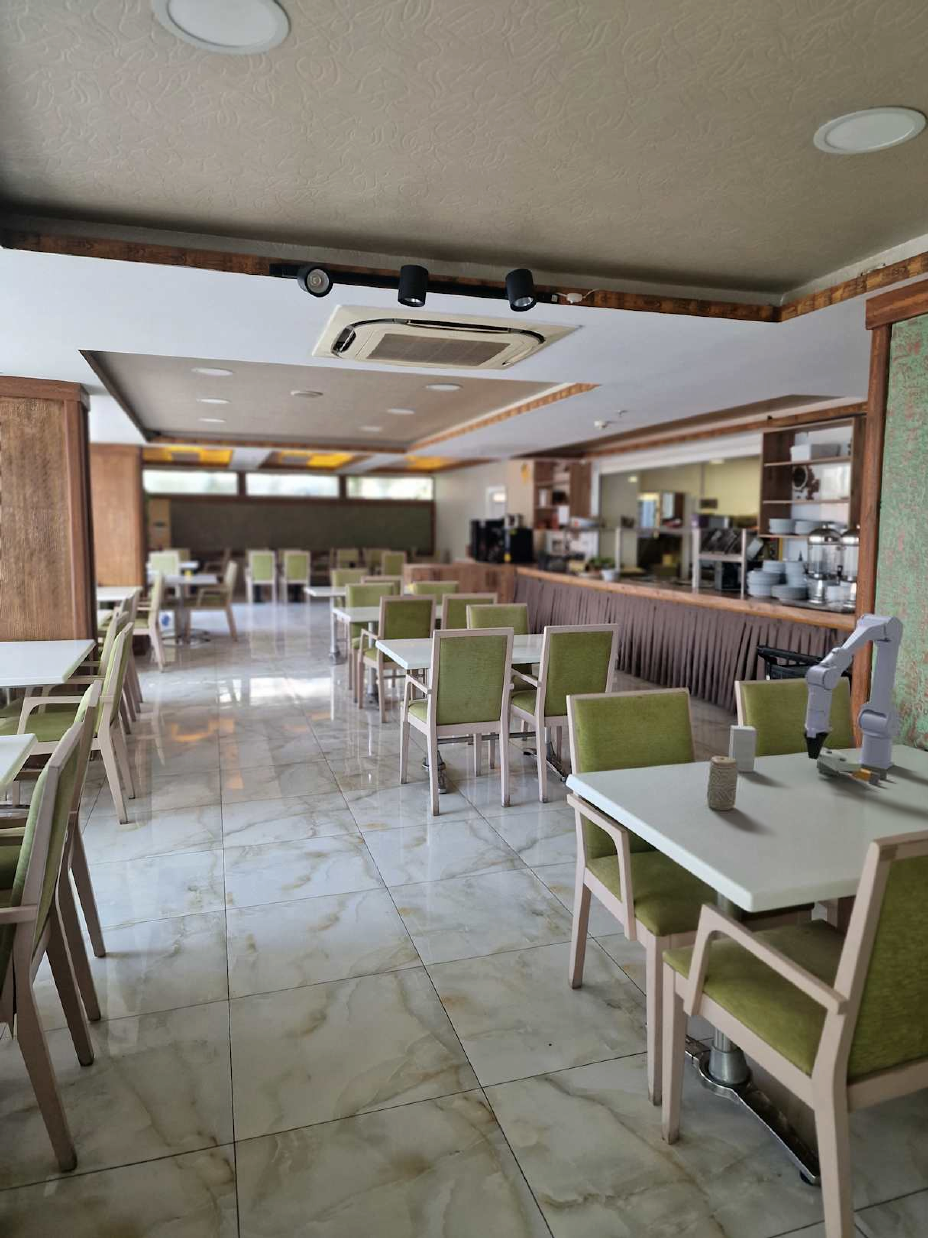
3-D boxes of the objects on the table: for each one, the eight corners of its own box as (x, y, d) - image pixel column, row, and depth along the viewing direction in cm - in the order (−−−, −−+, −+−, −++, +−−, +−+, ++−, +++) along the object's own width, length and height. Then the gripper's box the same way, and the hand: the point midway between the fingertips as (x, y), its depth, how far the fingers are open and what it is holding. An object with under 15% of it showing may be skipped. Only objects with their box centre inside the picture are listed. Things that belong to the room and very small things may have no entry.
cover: (829, 766, 219) (831, 746, 218) (859, 784, 204) (861, 762, 203) (805, 766, 219) (807, 745, 218) (834, 783, 204) (836, 762, 203)
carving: (701, 807, 182) (704, 758, 181) (714, 800, 188) (717, 752, 186) (727, 815, 178) (731, 764, 176) (739, 807, 183) (743, 758, 182)
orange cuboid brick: (857, 775, 212) (857, 767, 212) (875, 781, 208) (876, 773, 207) (851, 777, 211) (852, 768, 211) (869, 782, 207) (870, 774, 206)
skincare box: (749, 767, 215) (752, 726, 214) (753, 772, 211) (757, 730, 209) (727, 766, 216) (730, 724, 214) (730, 771, 211) (734, 728, 210)
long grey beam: (828, 766, 220) (829, 755, 219) (886, 779, 210) (887, 768, 209) (818, 771, 214) (819, 761, 214) (877, 785, 204) (878, 774, 203)
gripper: (829, 717, 202) (824, 767, 203) (839, 708, 214) (833, 755, 215) (801, 712, 206) (795, 761, 207) (811, 703, 218) (806, 750, 219)
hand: (813, 758), depth 211 cm, fingers closed
